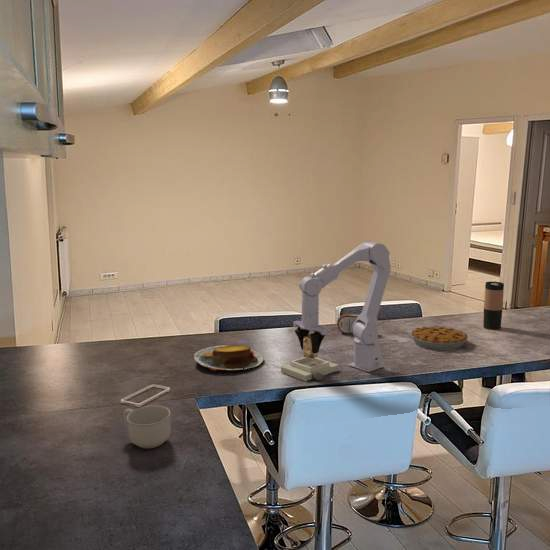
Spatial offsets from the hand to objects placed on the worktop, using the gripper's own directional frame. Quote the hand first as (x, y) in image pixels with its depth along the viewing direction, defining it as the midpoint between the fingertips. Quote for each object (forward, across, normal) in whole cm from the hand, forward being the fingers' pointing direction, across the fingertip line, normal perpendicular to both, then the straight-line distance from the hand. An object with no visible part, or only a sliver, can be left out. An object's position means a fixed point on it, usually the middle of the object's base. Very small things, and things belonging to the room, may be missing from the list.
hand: (309, 351), depth 196 cm
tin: (+8, -21, +48) cm, 53 cm away
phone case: (+8, -18, -53) cm, 57 cm away
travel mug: (+7, +14, +99) cm, 100 cm away
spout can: (+2, 0, 0) cm, 2 cm away
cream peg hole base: (+7, +2, 0) cm, 7 cm away
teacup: (+8, +9, -68) cm, 69 cm away
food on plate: (+8, -27, -15) cm, 32 cm away
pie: (+8, +11, +62) cm, 63 cm away
